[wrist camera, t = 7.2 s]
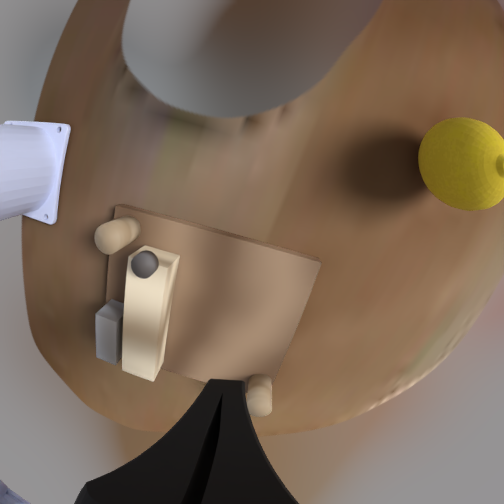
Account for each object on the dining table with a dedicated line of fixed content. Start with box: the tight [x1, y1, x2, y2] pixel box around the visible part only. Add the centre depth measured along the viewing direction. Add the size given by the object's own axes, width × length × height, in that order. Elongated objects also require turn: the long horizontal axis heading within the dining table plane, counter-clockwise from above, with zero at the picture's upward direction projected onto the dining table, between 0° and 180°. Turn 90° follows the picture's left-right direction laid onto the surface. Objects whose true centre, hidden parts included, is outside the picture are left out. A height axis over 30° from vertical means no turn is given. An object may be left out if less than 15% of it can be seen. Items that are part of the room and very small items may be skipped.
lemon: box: [418, 118, 504, 211], centre depth 13 cm, size 6×6×8 cm
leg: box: [122, 245, 180, 382], centre depth 17 cm, size 10×2×3 cm, turn 165°
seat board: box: [95, 204, 321, 417], centre depth 18 cm, size 14×12×4 cm
